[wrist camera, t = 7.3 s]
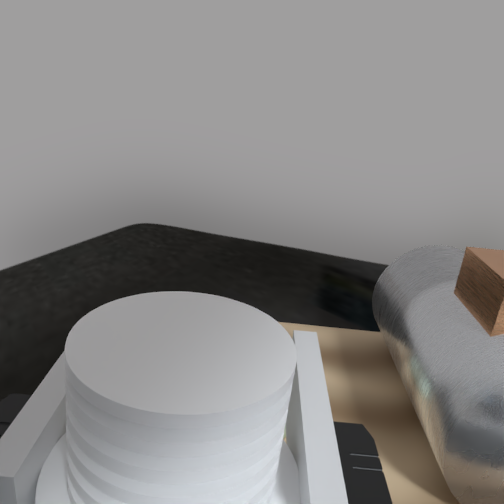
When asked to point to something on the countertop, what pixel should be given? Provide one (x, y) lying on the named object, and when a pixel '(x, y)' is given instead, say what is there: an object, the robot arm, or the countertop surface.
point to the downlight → (174, 405)
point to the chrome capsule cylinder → (451, 358)
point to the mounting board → (379, 411)
